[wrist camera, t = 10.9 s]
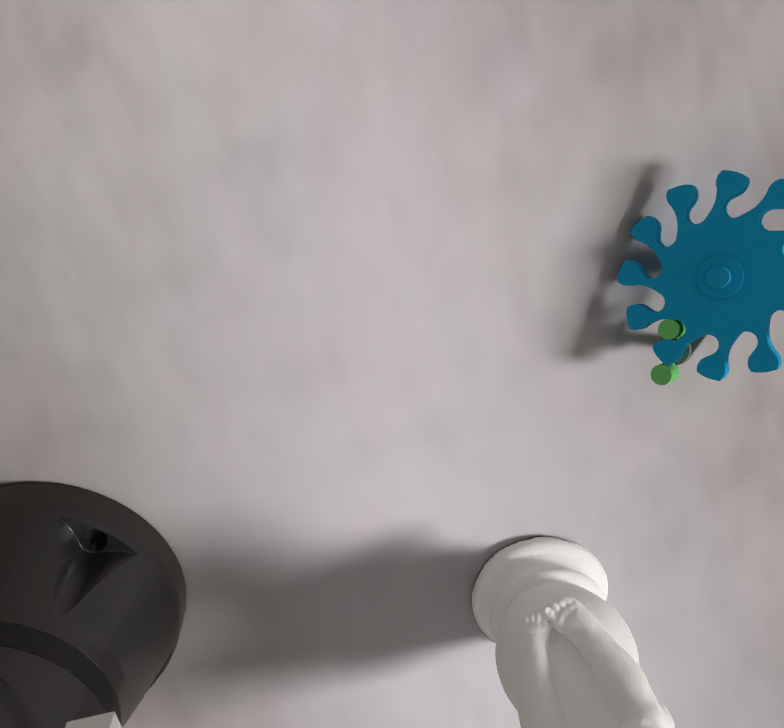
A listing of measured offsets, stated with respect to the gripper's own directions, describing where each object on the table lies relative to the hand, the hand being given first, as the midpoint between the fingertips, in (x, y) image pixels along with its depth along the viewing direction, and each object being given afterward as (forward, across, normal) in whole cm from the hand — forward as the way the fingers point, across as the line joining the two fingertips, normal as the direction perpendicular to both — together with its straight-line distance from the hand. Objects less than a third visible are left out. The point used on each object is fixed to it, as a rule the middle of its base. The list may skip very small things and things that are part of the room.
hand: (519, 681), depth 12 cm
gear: (+27, +16, -3) cm, 31 cm away
